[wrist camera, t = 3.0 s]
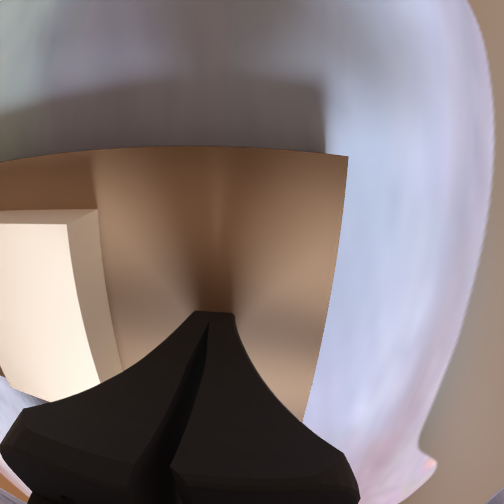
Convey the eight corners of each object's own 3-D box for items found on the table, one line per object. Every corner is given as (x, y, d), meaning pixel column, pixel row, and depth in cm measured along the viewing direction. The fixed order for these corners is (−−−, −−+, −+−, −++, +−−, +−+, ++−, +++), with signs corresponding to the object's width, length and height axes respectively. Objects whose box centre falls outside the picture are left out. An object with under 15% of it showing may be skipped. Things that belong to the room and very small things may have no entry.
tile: (127, 388, 12) (113, 419, 10) (28, 363, 12) (10, 387, 10) (97, 209, 9) (66, 224, 7) (-11, 211, 9) (-42, 224, 7)
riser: (294, 387, 16) (300, 428, 13) (1, 342, 15) (-21, 366, 12) (325, 153, 12) (348, 156, 9) (-35, 169, 11) (-69, 178, 8)
